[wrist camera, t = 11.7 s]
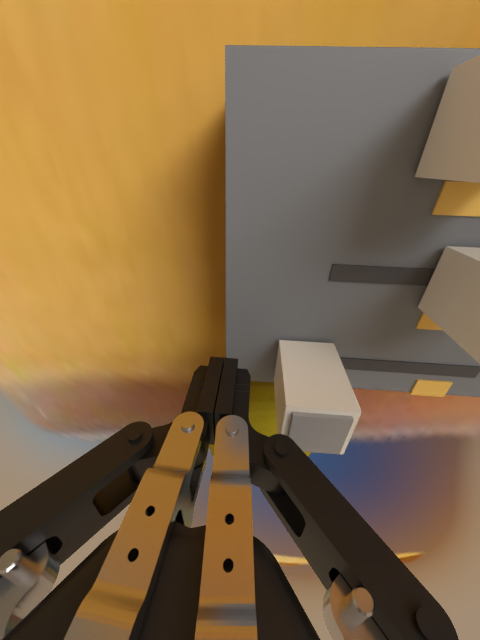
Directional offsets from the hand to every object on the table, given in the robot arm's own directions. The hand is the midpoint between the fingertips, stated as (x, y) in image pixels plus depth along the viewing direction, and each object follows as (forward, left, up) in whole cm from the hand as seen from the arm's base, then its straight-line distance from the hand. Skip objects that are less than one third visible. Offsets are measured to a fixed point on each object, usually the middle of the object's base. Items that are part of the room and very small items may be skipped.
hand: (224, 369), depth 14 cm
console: (-11, -5, -7) cm, 14 cm away
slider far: (-4, 0, -1) cm, 5 cm away
